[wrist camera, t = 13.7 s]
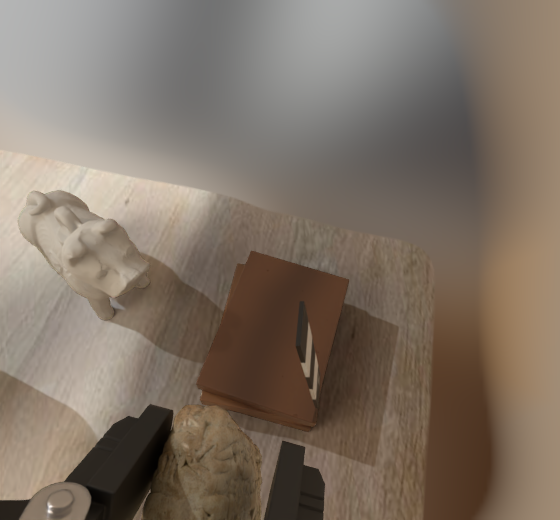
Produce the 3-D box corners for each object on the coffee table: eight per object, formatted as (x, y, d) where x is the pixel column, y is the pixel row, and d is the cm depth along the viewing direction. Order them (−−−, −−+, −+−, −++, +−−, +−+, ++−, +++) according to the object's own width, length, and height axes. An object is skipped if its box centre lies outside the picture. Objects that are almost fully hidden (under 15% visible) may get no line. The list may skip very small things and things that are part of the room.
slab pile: (341, 297, 36) (350, 274, 33) (313, 439, 30) (320, 429, 27) (240, 271, 37) (239, 247, 33) (193, 405, 31) (186, 392, 28)
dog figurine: (135, 355, 33) (89, 293, 23) (36, 259, 36) (-37, 174, 27) (186, 307, 35) (162, 234, 26) (88, 222, 39) (36, 131, 29)
